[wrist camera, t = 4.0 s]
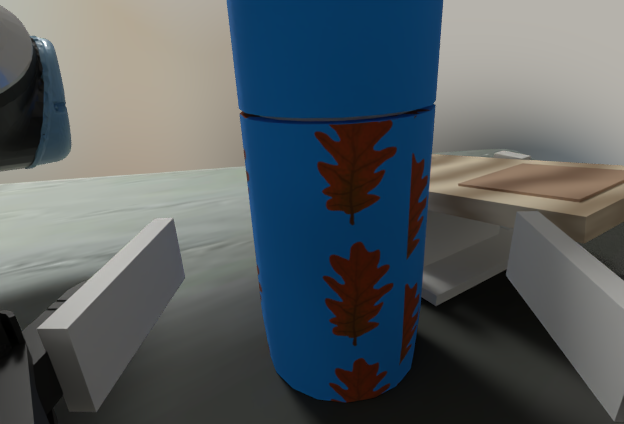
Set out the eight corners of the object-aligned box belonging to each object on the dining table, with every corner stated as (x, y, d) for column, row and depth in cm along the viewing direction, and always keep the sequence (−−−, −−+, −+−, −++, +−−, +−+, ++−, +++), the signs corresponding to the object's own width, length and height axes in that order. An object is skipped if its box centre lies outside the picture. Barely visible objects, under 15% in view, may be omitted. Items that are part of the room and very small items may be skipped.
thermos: (275, 301, 34) (243, -33, 24) (399, 298, 34) (416, -43, 24) (258, 407, 24) (191, -90, 14) (434, 403, 24) (487, -108, 14)
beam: (318, 186, 46) (313, 147, 44) (405, 164, 52) (403, 129, 51) (584, 243, 22) (589, 163, 21) (679, 190, 29) (687, 127, 28)
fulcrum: (350, 261, 40) (349, 176, 36) (467, 217, 49) (475, 145, 45) (426, 310, 32) (434, 208, 28) (549, 246, 41) (566, 162, 37)
